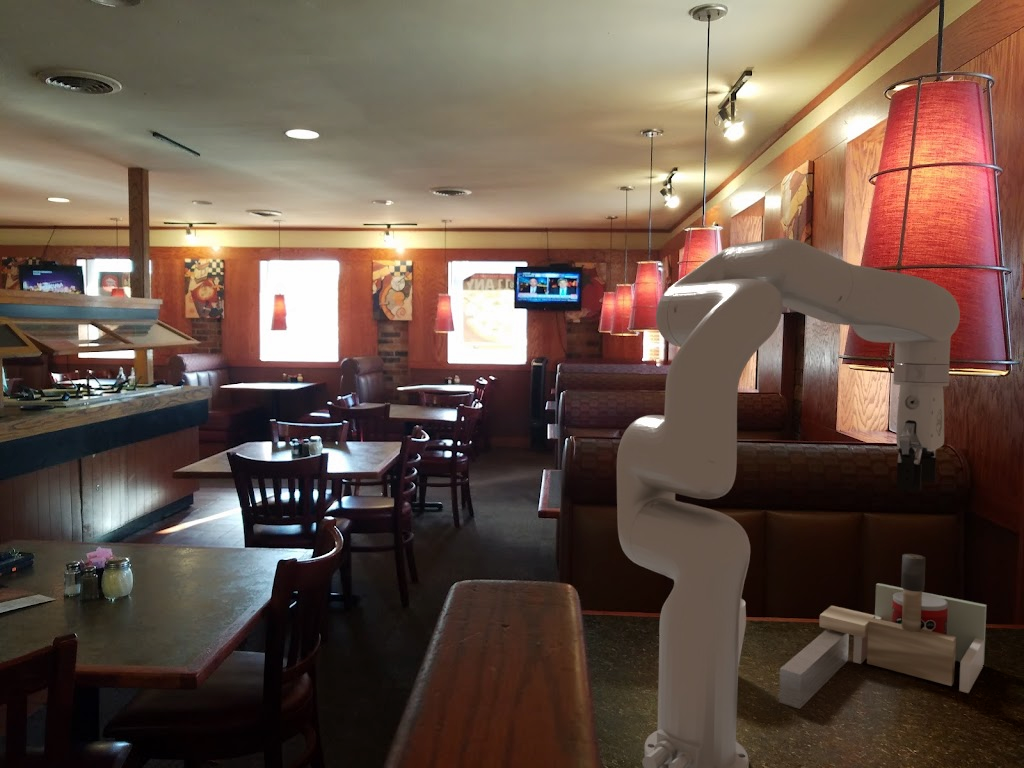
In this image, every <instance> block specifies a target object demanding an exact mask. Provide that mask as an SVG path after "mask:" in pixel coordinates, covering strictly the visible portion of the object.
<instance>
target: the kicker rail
mask: <svg viewBox="0 0 1024 768" xmlns="http://www.w3.org/2000/svg"><path fill="white" fill-rule="evenodd" d="M849 638H850V634H846V633H842V632H838V631H834V630H830V629H826V628H825V630H823V632H822V633H820V634H819V635H818V636H816V638H814V639H813V640H812V641H811V642H810V643H808V644H807V645H806V646H805V647H804V648H802V650H800V651H799V652H798V653H797V654H796V655H794V656H793V657H791V659H789V660H788V661H787V662H786V663H785V664H783V665H782V666H781V667H780V669H779V688H778V689H779V690H778V691H779V692H778V694H779V695H778V702H779V703H781V704H783V705H786V706H789V707H792V708H796V709H799V710H800V709H802V707H804V706H805V704H806V703H808V702H809V700H810V699H812V697H813V696H815V694H817V692H819V690H820V689H822V687H823V686H825V684H826V683H828V681H829V680H830V679H831V678H832V677H833V676H834V675H835V674H836V673H838V671H839V670H840V669H841V668H842V667H843V666H844V665H845V664H846V663H847V662H848V661H849V642H850V641H849Z"/></svg>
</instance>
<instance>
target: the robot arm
mask: <svg viewBox="0 0 1024 768" xmlns="http://www.w3.org/2000/svg"><path fill="white" fill-rule="evenodd" d="M783 307H784V308H786V309H789V310H793V311H795V312H798V313H800V314H803V315H805V316H808V317H811V318H813V319H816V320H818V321H821V322H823V323H829V324H835V325H842V326H851V327H852V329H853V331H854V333H855V334H856V335H857V336H858V337H859V338H860V339H863V340H865V341H867V342H871V343H880V344H881V343H883V344H885V343H886V344H887V343H890V344H891V343H892V344H893V343H894V359H893V360H894V364H893V385H899V391H898V392H899V393H898V400H897V401H898V403H897V412H896V413H897V414H896V415H897V416H896V430H895V431H896V432H895V433H896V439H895V440H896V445H897V447H898V455H897V467H896V469H897V471H896V489H898V490H903V491H904V490H905V491H910V492H912V491H913V492H919V491H920V490H921V488H922V482H923V483H932V484H933V483H935V482H936V480H937V479H936V477H937V476H936V473H937V450H938V449H939V448H941V447H942V446H944V444H945V399H944V397H945V396H944V387H949V386H950V384H949V382H950V362H951V361H950V359H951V358H950V357H951V355H950V354H951V338H952V335H954V333H955V332H957V329H958V326H959V324H960V320H961V319H960V317H961V312H960V311H961V310H960V306H959V304H958V301H957V300H956V298H955V297H954V296H953V294H952V293H951V292H950V291H949V290H947V289H946V288H944V287H943V286H940V285H938V284H937V283H935V282H933V281H930V280H928V279H925V278H922V277H918V276H914V275H910V274H905V273H900V272H894V271H887V270H884V269H878V268H874V267H868V266H863V265H856V264H853V263H850V262H848V261H845V260H843V259H840V258H838V257H836V256H833V255H831V254H829V253H828V252H825V251H823V250H821V249H819V248H816V247H814V246H812V245H809V244H808V243H805V242H803V241H800V240H798V239H794V238H793V239H792V238H772V239H767V240H759V241H753V242H751V241H750V242H745V243H738V244H734V245H731V246H729V247H726V248H724V249H722V250H721V251H719V252H717V253H716V254H715V255H713V256H712V257H710V258H709V259H707V260H706V261H704V262H702V263H701V264H700V265H699V266H697V267H695V268H694V269H693V270H692V271H690V272H689V273H687V274H686V275H684V276H683V277H681V278H680V279H679V280H678V281H676V282H674V283H673V284H672V285H671V286H670V287H668V289H667V290H666V291H665V292H664V293H663V295H662V296H661V297H660V299H659V301H658V304H657V308H656V310H655V321H656V327H657V329H658V331H659V333H660V335H661V337H662V338H663V339H664V340H665V341H666V342H668V343H669V344H670V345H673V346H676V347H679V349H677V352H676V354H675V355H674V357H673V358H672V360H671V363H670V365H669V368H668V370H667V373H666V380H665V393H664V394H665V395H664V397H665V398H664V415H661V414H652V415H651V414H650V415H645V416H641V417H639V418H637V419H636V420H634V421H633V422H632V423H630V424H629V426H628V427H627V428H626V429H625V431H624V433H623V435H622V437H621V439H620V441H619V442H620V443H619V446H618V449H617V453H616V454H617V455H616V456H617V457H616V504H617V506H616V508H617V516H616V517H617V533H618V539H619V543H620V546H621V549H622V551H623V553H624V555H625V556H626V557H627V558H628V559H629V560H630V561H632V563H634V564H636V565H638V566H640V567H643V568H645V569H648V570H650V571H652V572H655V573H656V574H657V573H658V574H660V575H663V576H665V577H667V578H669V579H671V580H673V583H674V584H673V588H672V590H671V592H670V594H668V597H667V598H666V600H665V602H664V603H663V605H662V608H661V611H660V617H659V629H658V634H659V637H658V638H659V641H658V642H659V643H658V645H659V648H658V649H659V650H658V687H657V688H658V690H657V693H658V696H657V730H655V731H654V732H652V733H651V734H649V735H648V736H647V738H646V739H645V743H644V757H643V758H642V759H641V760H642V761H641V763H642V767H643V768H749V764H750V763H749V762H750V758H749V755H748V753H747V751H746V749H745V748H744V747H743V745H742V744H740V743H739V742H738V741H737V721H738V719H737V718H738V714H737V713H738V712H737V711H738V690H739V689H738V685H739V684H738V682H739V681H738V680H739V666H738V654H739V618H740V606H741V598H742V595H743V592H744V591H743V590H744V584H745V580H746V578H747V573H748V570H749V569H748V568H749V566H750V565H749V564H750V558H751V557H750V556H751V544H750V540H749V537H748V534H747V532H746V530H745V528H743V526H742V525H741V524H740V523H739V522H738V521H736V520H735V519H734V518H733V517H731V516H729V515H727V514H725V513H723V512H721V511H717V510H715V509H711V508H709V507H708V508H707V507H703V506H699V505H696V504H692V503H688V502H682V501H678V500H676V494H677V495H681V496H685V497H690V498H693V499H694V498H695V499H699V500H700V499H701V500H702V499H703V500H713V499H714V500H715V499H718V498H719V499H720V497H724V496H726V494H728V493H729V492H730V490H731V489H732V487H733V485H734V483H735V480H736V475H737V466H738V465H737V462H738V461H737V460H738V457H737V456H738V455H737V454H738V446H737V445H738V422H737V421H738V394H739V393H738V391H739V385H740V384H739V383H740V381H741V377H742V374H743V371H744V370H745V368H746V366H747V364H748V363H749V361H750V360H751V358H752V357H753V356H754V354H755V353H756V352H757V351H758V350H759V349H760V348H761V346H762V345H763V344H765V343H766V342H767V341H768V340H769V339H770V338H771V337H772V336H773V334H774V333H775V331H776V329H777V328H778V327H779V323H781V322H780V321H781V320H782V315H783Z"/></svg>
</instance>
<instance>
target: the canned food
mask: <svg viewBox="0 0 1024 768" xmlns="http://www.w3.org/2000/svg"><path fill="white" fill-rule="evenodd" d="M927 593H928V592H925V593H922V605H921V629H923V630H928V631H932V632H936V633H941V634H945V635H947V617H948V605H947V601H946V600H944V599H943V598H941V597H938V596H935V595H936V594H935V595H932V594H933V593H930V594H927ZM902 608H903V592H897V593H895V594H894V595H893V604H892V622H893V623H897V624H902Z"/></svg>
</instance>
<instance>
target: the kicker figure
mask: <svg viewBox="0 0 1024 768" xmlns="http://www.w3.org/2000/svg"><path fill="white" fill-rule="evenodd" d="M901 555H902V556H901V557H902V558H901V561H902V562H901V583H900V588H903V608H902V624H897V623H893V622H889V621H884V620H880V619H876V618H875V614H872V613H871V614H870V613H867V612H861V611H858V610H853V609H849V608H845V607H841V606H840V607H839V606H836V605H830V606H829V607H828V608H826V609H825V610H823V612H822V613H820V614H819V621H818V622H819V628H822V629H825V630H826V629H830V630H834V631H838V632H842V633H846V634H849V636H850V635H852V636H853V637H854V636H858V637H862V638H865V637H866V636H867V635H868V647H867V658H866V664H867V665H872V666H875V667H879V668H882V669H887V670H890V671H893V672H897V673H901V674H905V675H908V676H912V677H916V678H920V679H924V680H926V681H927V680H928V681H930V682H935V683H938V684H942V685H946V686H950V687H952V686H953V684H954V682H955V670H956V669H955V667H956V661H955V650H956V637H954V636H949V635H945V634H941V633H936V632H932V631H928V630H923V629H921V605H922V592H924V591H925V584H926V583H925V581H926V557H925V556H923V555H920V554H916V553H915V554H914V553H904V554H901Z"/></svg>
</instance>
